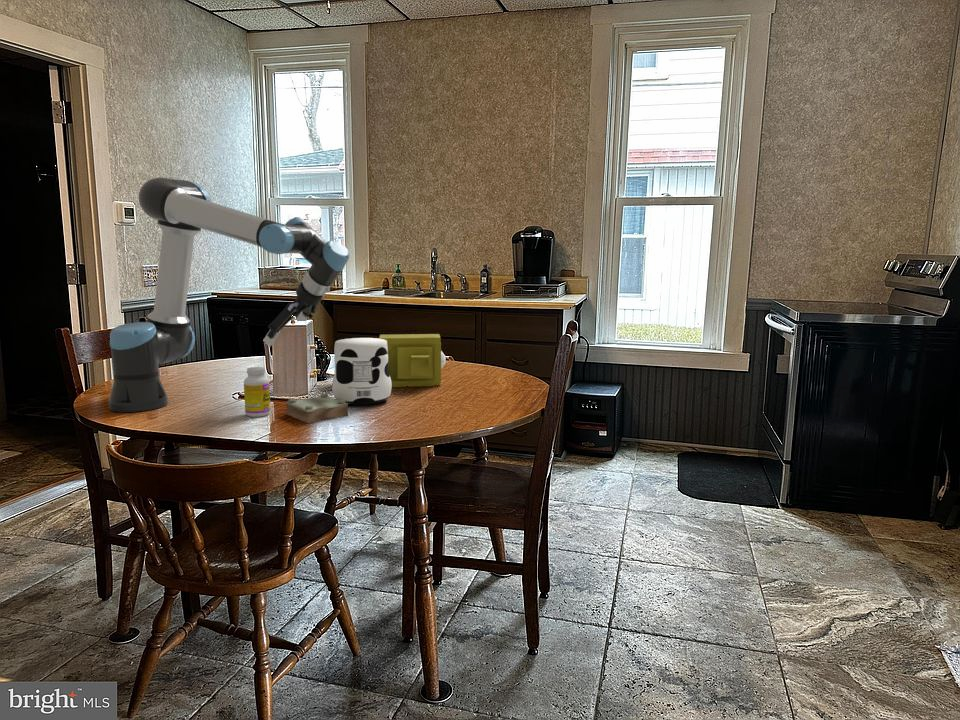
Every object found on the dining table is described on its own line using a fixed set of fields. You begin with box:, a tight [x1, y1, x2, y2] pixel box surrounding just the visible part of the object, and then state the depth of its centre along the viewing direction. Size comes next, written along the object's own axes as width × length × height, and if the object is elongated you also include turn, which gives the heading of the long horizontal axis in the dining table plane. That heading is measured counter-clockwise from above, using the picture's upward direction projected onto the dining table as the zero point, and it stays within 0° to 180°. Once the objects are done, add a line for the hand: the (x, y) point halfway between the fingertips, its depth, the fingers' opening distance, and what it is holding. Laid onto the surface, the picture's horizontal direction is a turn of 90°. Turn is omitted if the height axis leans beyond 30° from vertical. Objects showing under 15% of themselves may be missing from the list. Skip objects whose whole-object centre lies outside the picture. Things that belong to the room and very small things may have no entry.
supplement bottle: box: [243, 366, 272, 418], centre depth 185 cm, size 7×7×13 cm
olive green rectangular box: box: [378, 333, 447, 388], centre depth 222 cm, size 35×16×16 cm
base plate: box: [286, 393, 349, 424], centre depth 185 cm, size 12×12×4 cm
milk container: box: [331, 337, 393, 405], centre depth 200 cm, size 17×17×18 cm
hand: (281, 336), depth 205 cm, fingers open, 13 cm apart
